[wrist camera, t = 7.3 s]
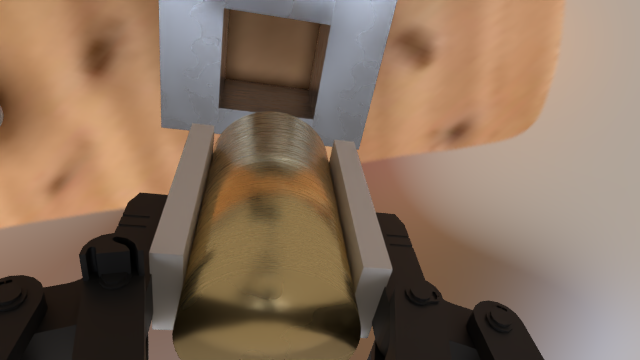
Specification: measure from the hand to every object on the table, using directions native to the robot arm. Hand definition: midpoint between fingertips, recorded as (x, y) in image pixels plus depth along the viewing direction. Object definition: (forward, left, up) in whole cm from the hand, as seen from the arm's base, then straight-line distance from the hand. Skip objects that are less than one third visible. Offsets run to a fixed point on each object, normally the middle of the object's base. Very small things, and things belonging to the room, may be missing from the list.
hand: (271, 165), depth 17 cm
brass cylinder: (0, 0, 0) cm, 1 cm away
